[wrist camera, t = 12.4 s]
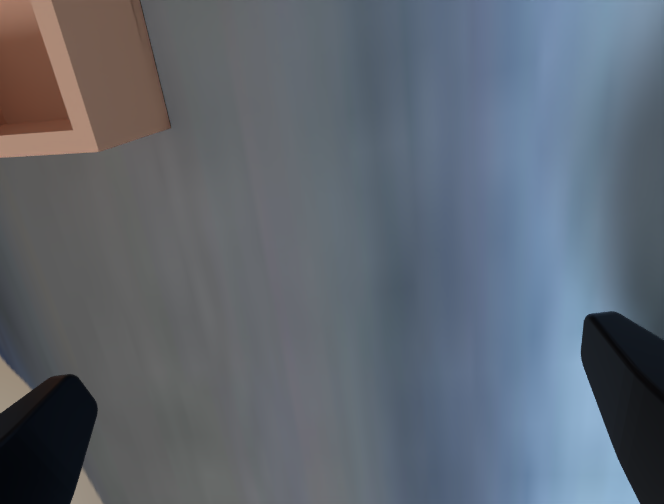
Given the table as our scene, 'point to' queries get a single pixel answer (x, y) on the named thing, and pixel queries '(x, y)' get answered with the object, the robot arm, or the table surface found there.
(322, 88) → the table surface
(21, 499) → the robot arm
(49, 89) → the cup holder
